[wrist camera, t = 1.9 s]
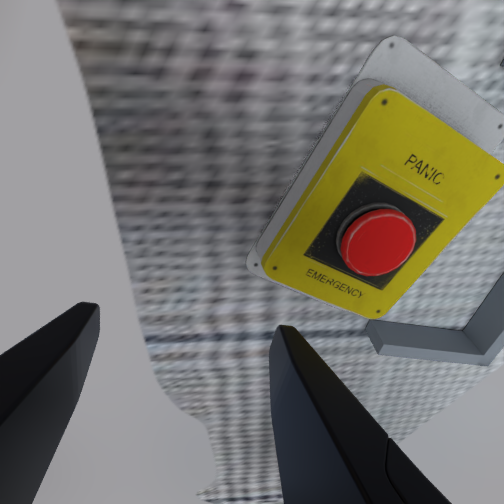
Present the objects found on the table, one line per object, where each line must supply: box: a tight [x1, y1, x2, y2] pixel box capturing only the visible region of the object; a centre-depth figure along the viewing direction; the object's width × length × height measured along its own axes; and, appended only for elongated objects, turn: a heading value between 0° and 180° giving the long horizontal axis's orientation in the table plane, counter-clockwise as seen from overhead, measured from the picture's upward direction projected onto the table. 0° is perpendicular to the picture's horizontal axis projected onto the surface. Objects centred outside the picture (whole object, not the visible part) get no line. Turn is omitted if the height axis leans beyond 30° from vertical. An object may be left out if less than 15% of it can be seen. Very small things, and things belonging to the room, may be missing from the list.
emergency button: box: [246, 35, 504, 319], centre depth 19 cm, size 9×4×15 cm
